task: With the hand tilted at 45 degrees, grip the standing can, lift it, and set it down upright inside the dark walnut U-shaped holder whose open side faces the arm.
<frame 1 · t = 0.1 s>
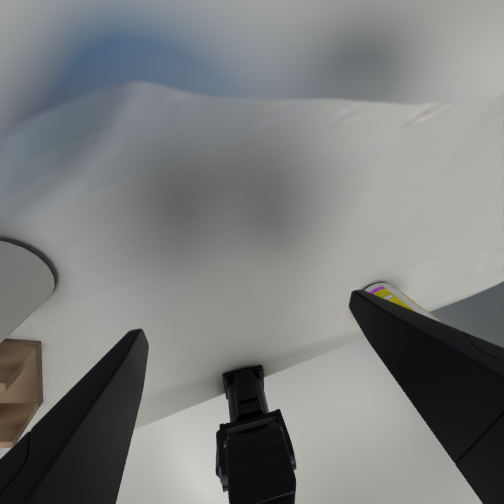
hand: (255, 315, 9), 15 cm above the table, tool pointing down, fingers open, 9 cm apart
can: (14, 270, 20), on the table
supplement bottle: (371, 298, 32), on the table
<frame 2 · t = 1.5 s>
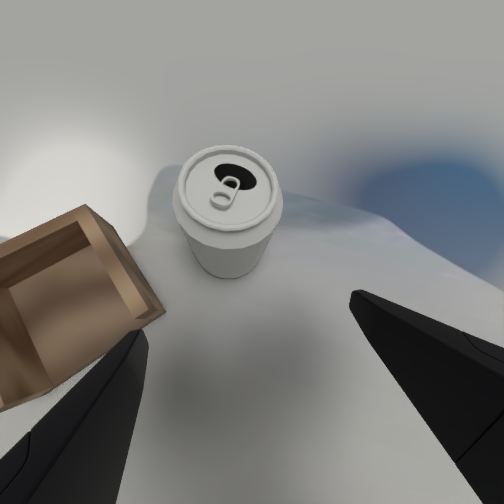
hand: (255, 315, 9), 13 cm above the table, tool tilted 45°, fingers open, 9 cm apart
u rest: (84, 299, 20), on the table
can: (229, 248, 24), on the table
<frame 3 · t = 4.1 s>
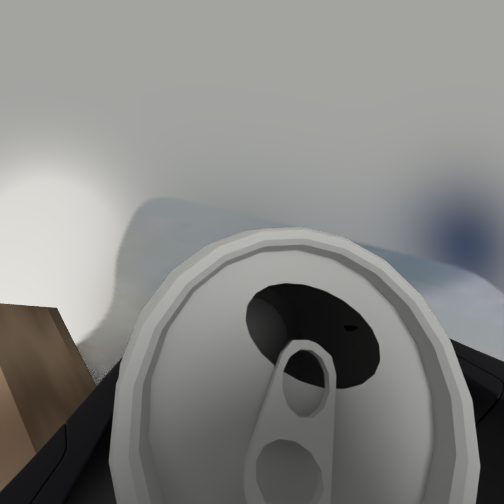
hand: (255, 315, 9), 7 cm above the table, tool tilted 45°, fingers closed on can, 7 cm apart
can: (247, 338, 15), on the table, touching gripper
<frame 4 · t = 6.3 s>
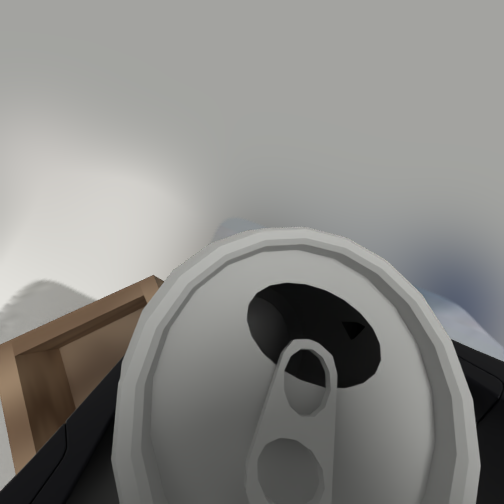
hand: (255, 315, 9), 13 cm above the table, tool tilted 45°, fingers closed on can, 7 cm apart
u rest: (132, 367, 19), on the table
can: (247, 337, 15), point 6 cm above the table, touching gripper
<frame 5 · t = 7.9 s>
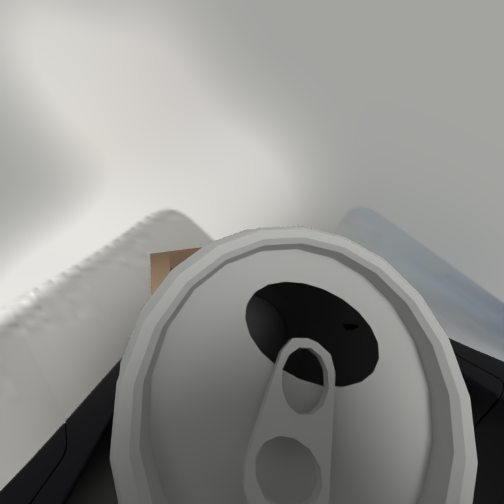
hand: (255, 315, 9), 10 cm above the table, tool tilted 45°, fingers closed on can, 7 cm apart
u rest: (242, 324, 18), on the table
can: (247, 337, 15), point 3 cm above the table, touching gripper
when the fingers open (8 cm above the table, at t = 8.9 s): can stays where it is, resting on u rest.
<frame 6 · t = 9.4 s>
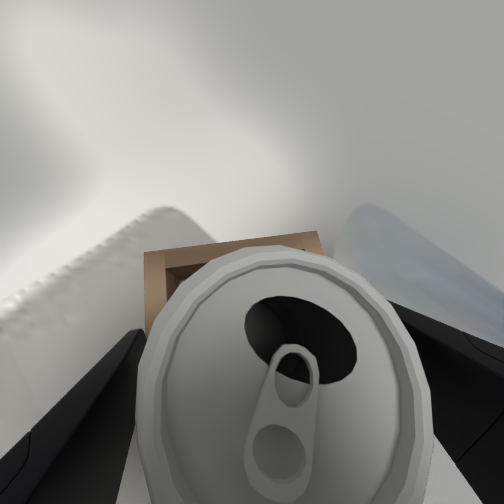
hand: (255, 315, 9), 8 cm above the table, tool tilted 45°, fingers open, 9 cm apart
u rest: (244, 329, 16), on the table
can: (247, 339, 16), point 1 cm above the table, touching u rest
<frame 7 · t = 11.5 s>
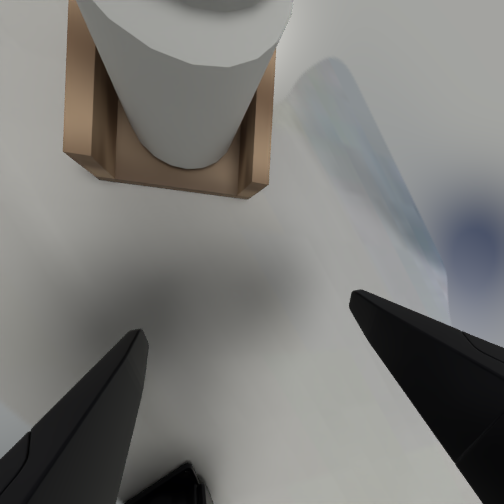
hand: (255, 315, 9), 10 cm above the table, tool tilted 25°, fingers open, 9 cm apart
u rest: (184, 120, 17), on the table
can: (185, 125, 16), point 1 cm above the table, touching u rest
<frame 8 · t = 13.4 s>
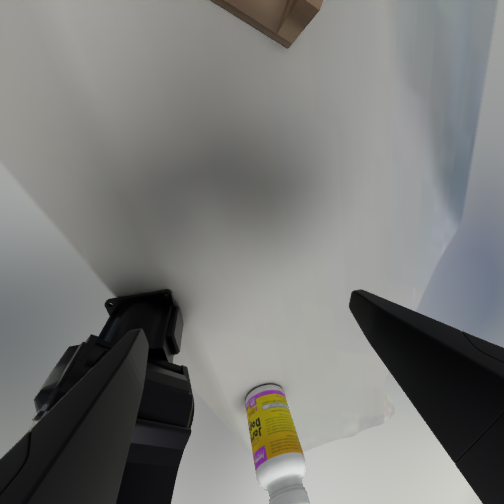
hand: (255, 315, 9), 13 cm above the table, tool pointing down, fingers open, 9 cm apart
supplement bottle: (263, 393, 35), on the table
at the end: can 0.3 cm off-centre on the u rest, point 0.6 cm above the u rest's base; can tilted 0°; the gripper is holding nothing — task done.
